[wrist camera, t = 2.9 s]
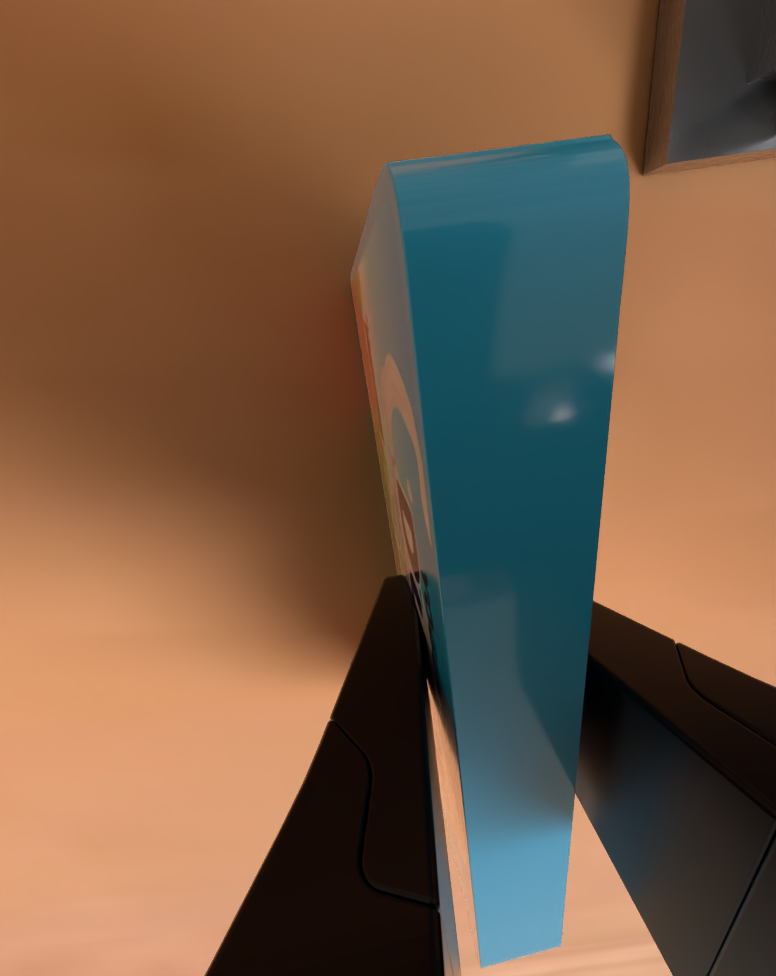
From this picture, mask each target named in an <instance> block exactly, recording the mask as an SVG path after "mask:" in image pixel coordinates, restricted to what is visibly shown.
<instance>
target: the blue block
mask: <svg viewBox="0 0 776 976" xmlns="http://www.w3.org/2000/svg"><path fill="white" fill-rule="evenodd" d="M628 216H629V171H628V165H627V160H626V157H625V154H624V152H623V150H622V148H621V147H620V145H619V144H618V143H617V142H616V141H615V140H613V139H612V137H611V135H610V134H607V135H599V136H591V137H583V138H576V139H568V140H560V141H552V142H544V143H536V144H528V145H520V146H512V147H504V148H496V149H488V150H481V151H473V152H465V153H457V154H449V155H441V156H433V157H425V158H417V159H409V160H401V161H394V162H387V163H385V164H384V165H383V166H382V167H381V170H380V173H379V176H378V179H377V183H376V186H375V190H374V193H373V197H372V200H371V204H370V207H369V211H368V214H367V218H366V221H365V225H364V228H363V232H362V235H361V239H360V242H359V246H358V249H357V253H356V256H355V260H354V263H353V267H352V270H351V274H350V282H351V291H352V297H353V303H354V310H355V316H356V322H357V328H358V335H359V341H360V347H361V353H362V359H363V366H364V372H365V378H366V384H367V391H368V397H369V403H370V409H371V415H372V422H373V428H374V434H375V440H376V447H377V453H378V459H379V465H380V471H381V478H382V484H383V490H384V496H385V502H386V509H387V515H388V521H389V527H390V534H391V540H392V546H393V552H394V558H395V565H396V571H397V575H404V576H405V577H406V580H407V583H408V586H409V589H410V592H411V595H412V598H413V601H414V604H415V608H416V611H417V616H418V623H419V630H420V637H421V643H422V650H423V657H424V663H425V670H426V677H427V684H428V690H429V697H430V705H431V714H432V723H433V732H434V740H435V749H436V758H437V767H438V775H439V784H440V793H441V802H442V806H443V811H444V815H445V819H446V824H447V828H448V832H449V837H450V841H451V845H452V850H453V854H454V859H455V863H456V867H457V872H458V876H459V880H460V885H461V889H462V893H463V898H464V902H465V907H466V911H467V915H468V920H469V924H470V928H471V933H472V937H473V941H474V946H475V950H476V954H477V958H478V962H479V965H480V968H484V967H488V966H492V965H495V964H499V963H503V962H506V961H510V960H513V959H517V958H521V957H524V956H528V955H532V954H535V953H539V952H543V951H546V950H550V949H553V948H557V947H560V946H561V940H562V927H563V916H564V906H565V895H566V884H567V873H568V862H569V852H570V841H571V830H572V819H573V809H574V798H575V787H576V776H577V765H578V755H579V744H580V733H581V722H582V712H583V701H584V690H585V679H586V669H587V658H588V647H589V636H590V625H591V615H592V604H593V593H594V582H595V572H596V561H597V550H598V539H599V528H600V518H601V507H602V496H603V485H604V475H605V464H606V453H607V442H608V431H609V421H610V410H611V399H612V388H613V378H614V367H615V356H616V345H617V334H618V324H619V313H620V303H621V293H622V283H623V273H624V263H625V253H626V242H627V230H628Z"/></svg>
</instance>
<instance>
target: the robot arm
mask: <svg viewBox="0 0 776 976" xmlns="http://www.w3.org/2000/svg"><path fill="white" fill-rule="evenodd" d="M330 719H331V721H329V722H328V723H327V726H326V729H325V731H324V734H323V736H322V739H321V741H320V744H319V746H318V749H317V751H316V753H315V756H314V758H313V760H312V763H311V765H310V767H309V770H308V772H307V775H306V777H305V779H304V782H303V784H302V786H301V788H300V790H299V792H298V794H297V796H296V798H295V800H294V802H293V804H292V806H291V808H290V810H289V812H288V814H287V817H286V819H285V821H284V823H283V825H282V827H281V829H280V831H279V833H278V835H277V837H276V839H275V840H274V842H273V844H272V846H271V848H270V850H269V852H268V854H267V856H266V858H265V860H264V862H263V864H262V866H261V868H260V869H259V871H258V873H257V875H256V877H255V879H254V881H253V883H252V885H251V887H250V889H249V891H248V893H247V895H246V897H245V899H244V900H243V902H242V904H241V906H240V908H239V910H238V912H237V914H236V916H235V918H234V920H233V922H232V924H231V926H230V928H229V930H228V931H227V933H226V935H225V937H224V939H223V941H222V943H221V945H220V947H219V949H218V951H217V953H216V955H215V957H214V959H213V961H212V962H211V964H210V966H209V968H208V970H207V972H206V974H205V976H461V968H460V960H459V951H458V942H457V933H456V924H455V916H454V907H453V898H452V889H451V881H450V872H449V863H448V854H447V846H446V837H445V828H444V819H443V810H442V802H441V793H440V784H439V775H438V767H437V758H436V749H435V740H434V732H433V723H432V714H431V705H430V697H429V690H428V684H427V677H426V670H425V663H424V657H423V650H422V643H421V637H420V630H419V623H418V616H417V611H416V608H415V604H414V601H413V598H412V595H411V592H410V589H409V586H408V583H407V580H406V577H405V576H404V575H396V576H391V577H387V578H385V579H384V581H383V584H382V586H381V589H380V591H379V594H378V596H377V599H376V602H375V604H374V607H373V609H372V612H371V614H370V617H369V619H368V622H367V625H366V627H365V630H364V632H363V635H362V637H361V640H360V642H359V645H358V647H357V650H356V653H355V655H354V658H353V660H352V663H351V665H350V668H349V670H348V673H347V676H346V678H345V681H344V683H343V686H342V688H341V691H340V693H339V696H338V699H337V701H336V704H335V706H334V709H333V711H332V714H331V716H330ZM575 793H576V795H577V797H578V799H579V801H580V803H581V805H582V806H583V808H584V810H585V812H586V814H587V816H588V818H589V820H590V821H591V823H592V825H593V827H594V829H595V831H596V833H597V835H598V836H599V838H600V840H601V842H602V844H603V846H604V848H605V850H606V851H607V853H608V855H609V857H610V859H611V861H612V863H613V864H614V866H615V868H616V870H617V872H618V874H619V876H620V878H621V879H622V881H623V883H624V885H625V887H626V889H627V891H628V893H629V894H630V896H631V898H632V900H633V902H634V904H635V906H636V907H637V909H638V911H639V913H640V915H641V917H642V919H643V921H644V922H645V924H646V926H647V928H648V930H649V932H650V934H651V936H652V937H653V939H654V941H655V943H656V945H657V947H658V949H659V950H660V952H661V954H662V956H663V958H664V960H665V962H666V964H667V965H668V967H669V969H670V971H671V973H672V975H673V976H776V687H774V686H772V685H770V684H767V683H765V682H763V681H761V680H758V679H756V678H754V677H751V676H749V675H747V674H745V673H743V672H741V671H739V670H736V669H734V668H732V667H730V666H728V665H726V664H723V663H721V662H719V661H717V660H715V659H713V658H711V657H708V656H706V655H704V654H702V653H700V652H698V651H696V650H694V649H692V648H690V647H688V646H686V645H684V644H682V643H676V644H675V641H674V640H673V639H671V638H669V637H667V636H665V635H663V634H661V633H659V632H656V631H654V630H652V629H650V628H648V627H646V626H644V625H642V624H640V623H638V622H636V621H634V620H632V619H630V618H628V617H626V616H623V615H621V614H619V613H617V612H615V611H613V610H611V609H609V608H607V607H605V606H603V605H601V604H599V603H597V602H595V601H593V604H592V615H591V625H590V636H589V647H588V658H587V669H586V679H585V690H584V701H583V712H582V722H581V733H580V744H579V755H578V765H577V776H576V787H575Z"/></svg>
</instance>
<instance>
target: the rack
mask: <svg viewBox="0 0 776 976" xmlns="http://www.w3.org/2000/svg"><path fill="white" fill-rule="evenodd" d="M773 157H776V0H660V8H659V18H658V28H657V38H656V48H655V58H654V68H653V79H652V89H651V99H650V109H649V119H648V129H647V139H646V150H645V160H644V170H643V176H645V175H652V174H660V173H667V172H674V171H681V170H688V169H695V168H702V167H709V166H716V165H723V164H730V163H737V162H745V161H752V160H759V159H766V158H773Z"/></svg>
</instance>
